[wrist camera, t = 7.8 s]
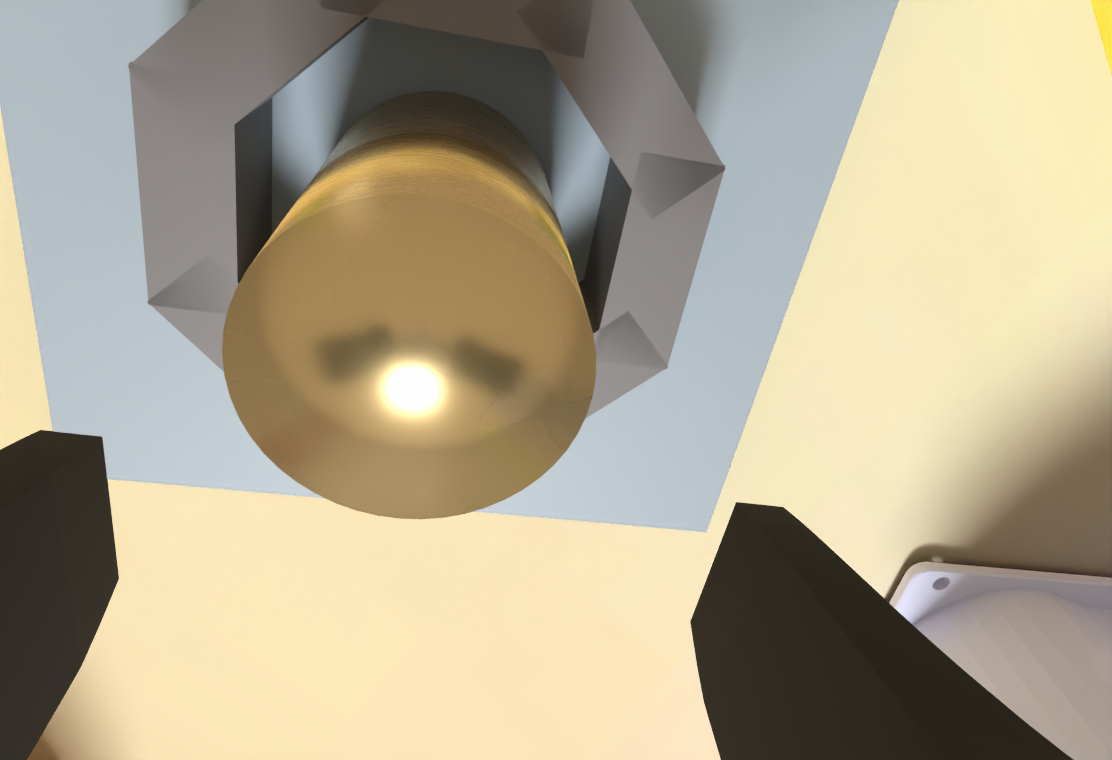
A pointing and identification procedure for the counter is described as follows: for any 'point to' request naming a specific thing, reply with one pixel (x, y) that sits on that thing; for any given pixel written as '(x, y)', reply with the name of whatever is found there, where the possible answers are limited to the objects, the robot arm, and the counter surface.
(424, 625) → the counter surface
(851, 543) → the counter surface
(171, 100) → the ring plate
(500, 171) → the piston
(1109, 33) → the dish sponge
